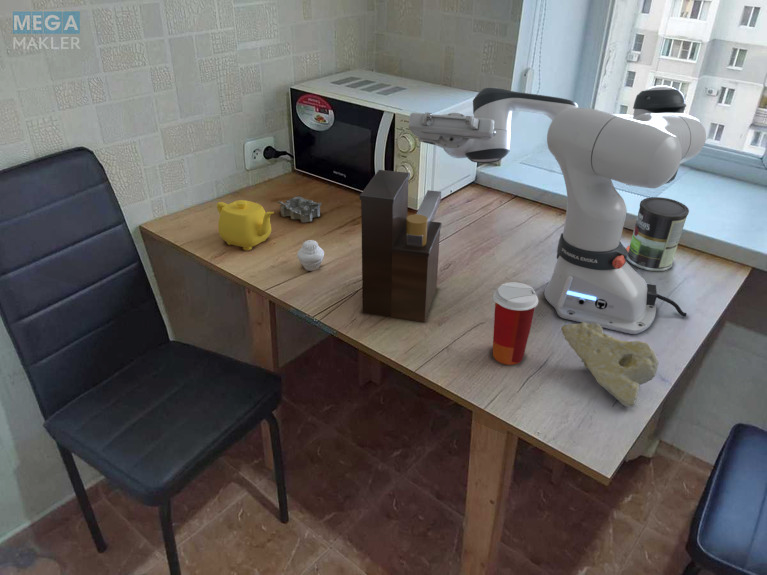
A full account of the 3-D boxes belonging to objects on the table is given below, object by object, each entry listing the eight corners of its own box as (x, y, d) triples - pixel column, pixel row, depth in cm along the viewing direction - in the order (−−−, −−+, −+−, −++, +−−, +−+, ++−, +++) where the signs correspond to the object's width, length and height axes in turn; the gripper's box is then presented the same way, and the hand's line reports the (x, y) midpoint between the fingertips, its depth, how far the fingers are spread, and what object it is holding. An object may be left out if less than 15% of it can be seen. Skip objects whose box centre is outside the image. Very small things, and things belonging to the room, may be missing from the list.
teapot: (291, 242, 152) (288, 202, 146) (262, 260, 144) (257, 219, 138) (236, 225, 159) (231, 186, 154) (205, 242, 151) (199, 202, 146)
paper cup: (523, 342, 117) (533, 280, 110) (533, 368, 111) (544, 303, 103) (482, 343, 117) (490, 280, 109) (490, 369, 110) (498, 304, 103)
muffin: (329, 269, 140) (328, 242, 136) (305, 276, 137) (303, 249, 134) (317, 258, 145) (316, 232, 141) (293, 265, 142) (291, 238, 138)
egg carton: (276, 214, 165) (275, 200, 163) (295, 205, 170) (294, 192, 168) (306, 225, 160) (305, 210, 158) (324, 215, 165) (324, 201, 163)
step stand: (425, 323, 122) (431, 203, 109) (361, 313, 125) (359, 195, 111) (437, 288, 134) (444, 176, 120) (378, 280, 136) (378, 169, 123)
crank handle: (424, 248, 116) (425, 224, 113) (403, 245, 116) (404, 222, 114) (442, 202, 134) (444, 180, 131) (424, 200, 134) (425, 179, 132)
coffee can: (635, 271, 141) (650, 216, 133) (620, 250, 149) (633, 196, 142) (680, 271, 141) (697, 216, 133) (662, 250, 149) (677, 196, 142)
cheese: (664, 411, 104) (655, 326, 109) (662, 404, 98) (653, 315, 103) (571, 412, 110) (567, 332, 115) (564, 406, 104) (560, 321, 109)
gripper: (494, 148, 150) (492, 135, 136) (413, 141, 154) (402, 127, 141) (498, 122, 150) (496, 107, 136) (416, 116, 154) (406, 100, 140)
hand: (448, 117), depth 138 cm, fingers open, 8 cm apart
